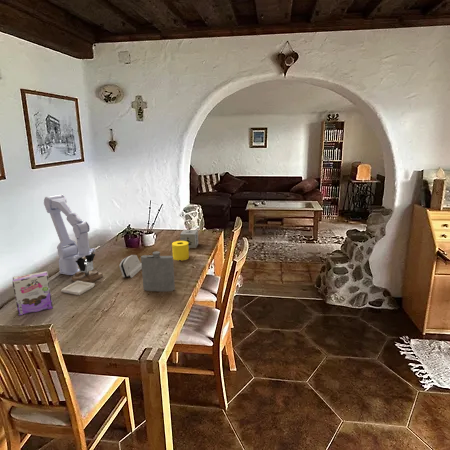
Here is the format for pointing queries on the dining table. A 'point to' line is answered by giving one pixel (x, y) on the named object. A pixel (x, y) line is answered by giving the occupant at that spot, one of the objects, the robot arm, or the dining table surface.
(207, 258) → the dining table surface
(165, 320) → the dining table surface
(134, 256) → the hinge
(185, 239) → the icon cube
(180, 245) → the yellow hollow cylinder
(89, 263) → the sleeve
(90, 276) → the vise block
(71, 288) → the dish
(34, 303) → the candy box
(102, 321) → the dining table surface
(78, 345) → the dining table surface
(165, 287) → the hip flask
